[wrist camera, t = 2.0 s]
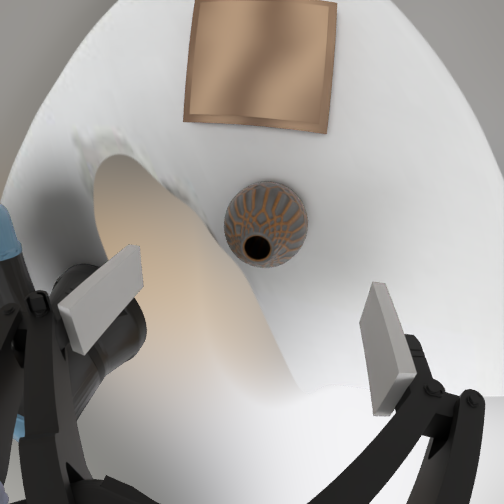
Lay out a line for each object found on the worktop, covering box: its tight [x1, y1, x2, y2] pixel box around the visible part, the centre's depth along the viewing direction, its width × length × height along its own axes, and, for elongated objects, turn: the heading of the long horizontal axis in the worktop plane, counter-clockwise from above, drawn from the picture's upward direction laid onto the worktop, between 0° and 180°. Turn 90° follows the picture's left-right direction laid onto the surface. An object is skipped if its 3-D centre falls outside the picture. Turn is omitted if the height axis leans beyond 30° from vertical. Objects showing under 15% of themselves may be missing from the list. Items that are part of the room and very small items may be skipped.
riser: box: [183, 0, 337, 134], centre depth 21 cm, size 12×12×3 cm
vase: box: [224, 182, 308, 268], centre depth 25 cm, size 7×7×9 cm
